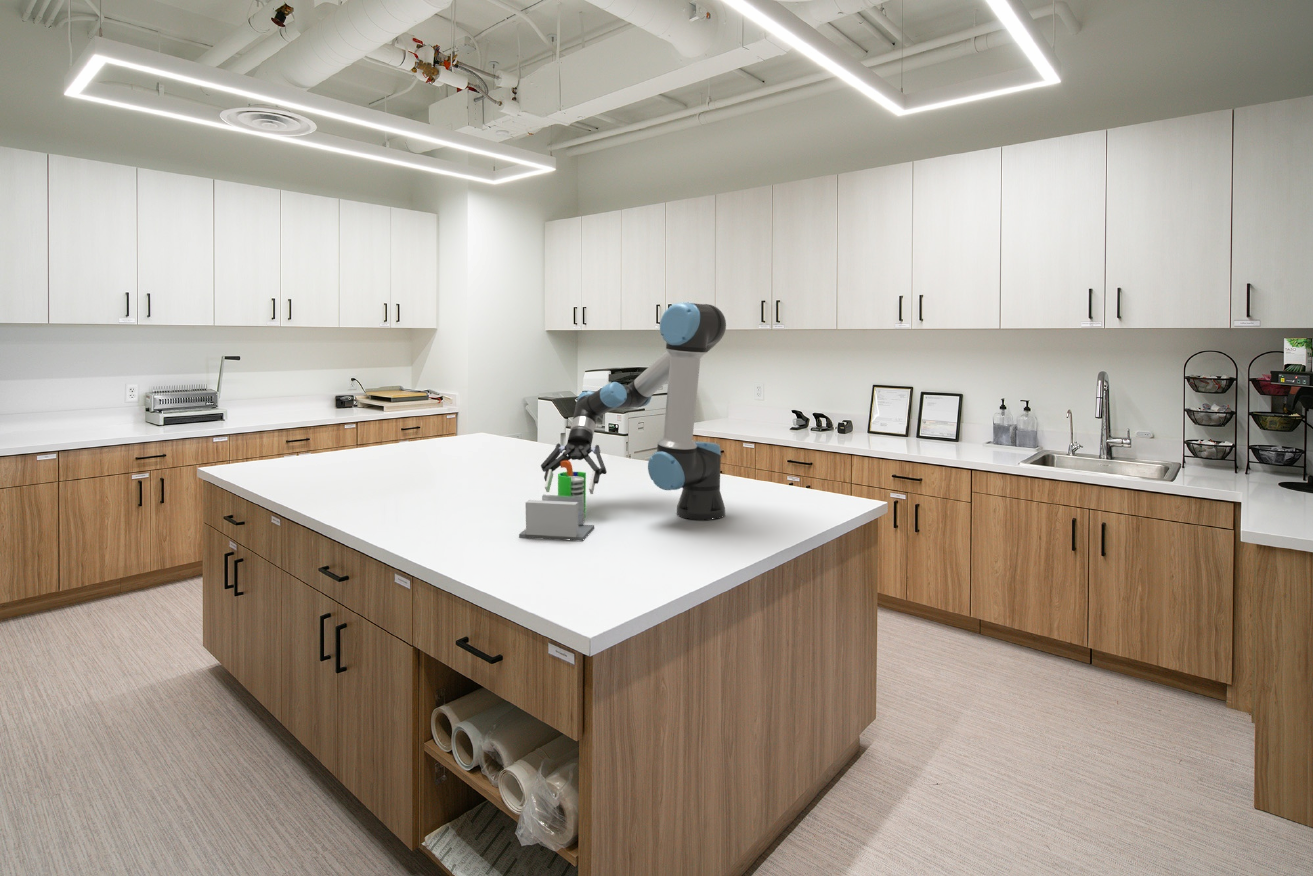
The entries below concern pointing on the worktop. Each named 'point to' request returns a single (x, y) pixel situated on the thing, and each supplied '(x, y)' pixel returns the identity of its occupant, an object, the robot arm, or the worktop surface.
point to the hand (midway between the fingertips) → (568, 490)
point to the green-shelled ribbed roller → (572, 482)
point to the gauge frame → (554, 521)
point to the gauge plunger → (569, 499)
